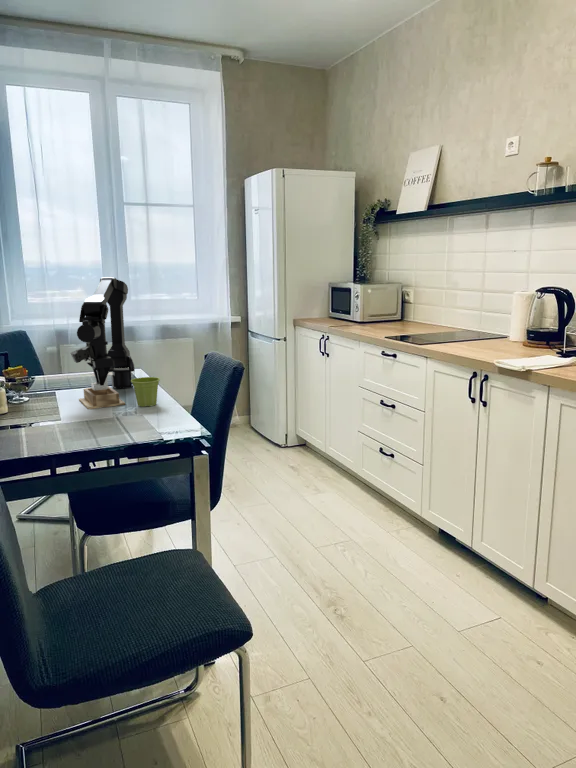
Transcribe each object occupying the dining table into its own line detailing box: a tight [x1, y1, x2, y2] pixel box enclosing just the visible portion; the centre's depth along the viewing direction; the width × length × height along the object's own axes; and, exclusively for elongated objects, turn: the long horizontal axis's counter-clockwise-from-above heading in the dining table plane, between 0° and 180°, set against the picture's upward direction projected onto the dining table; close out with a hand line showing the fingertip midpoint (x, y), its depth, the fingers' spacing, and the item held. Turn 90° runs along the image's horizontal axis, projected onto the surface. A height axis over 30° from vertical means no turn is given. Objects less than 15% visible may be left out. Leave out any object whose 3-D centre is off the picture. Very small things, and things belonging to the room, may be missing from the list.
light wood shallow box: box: [78, 385, 126, 410], centre depth 199 cm, size 12×15×4 cm
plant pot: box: [131, 376, 161, 408], centre depth 195 cm, size 9×9×9 cm
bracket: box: [90, 377, 109, 391], centre depth 198 cm, size 4×4×7 cm
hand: (100, 384), depth 199 cm, fingers closed on bracket, 4 cm apart
